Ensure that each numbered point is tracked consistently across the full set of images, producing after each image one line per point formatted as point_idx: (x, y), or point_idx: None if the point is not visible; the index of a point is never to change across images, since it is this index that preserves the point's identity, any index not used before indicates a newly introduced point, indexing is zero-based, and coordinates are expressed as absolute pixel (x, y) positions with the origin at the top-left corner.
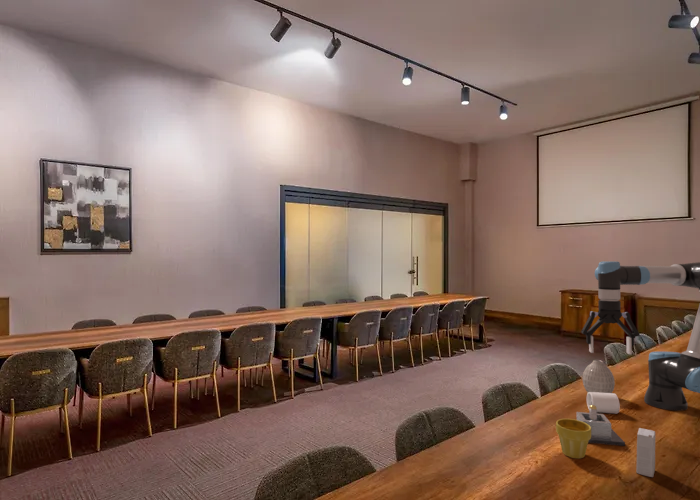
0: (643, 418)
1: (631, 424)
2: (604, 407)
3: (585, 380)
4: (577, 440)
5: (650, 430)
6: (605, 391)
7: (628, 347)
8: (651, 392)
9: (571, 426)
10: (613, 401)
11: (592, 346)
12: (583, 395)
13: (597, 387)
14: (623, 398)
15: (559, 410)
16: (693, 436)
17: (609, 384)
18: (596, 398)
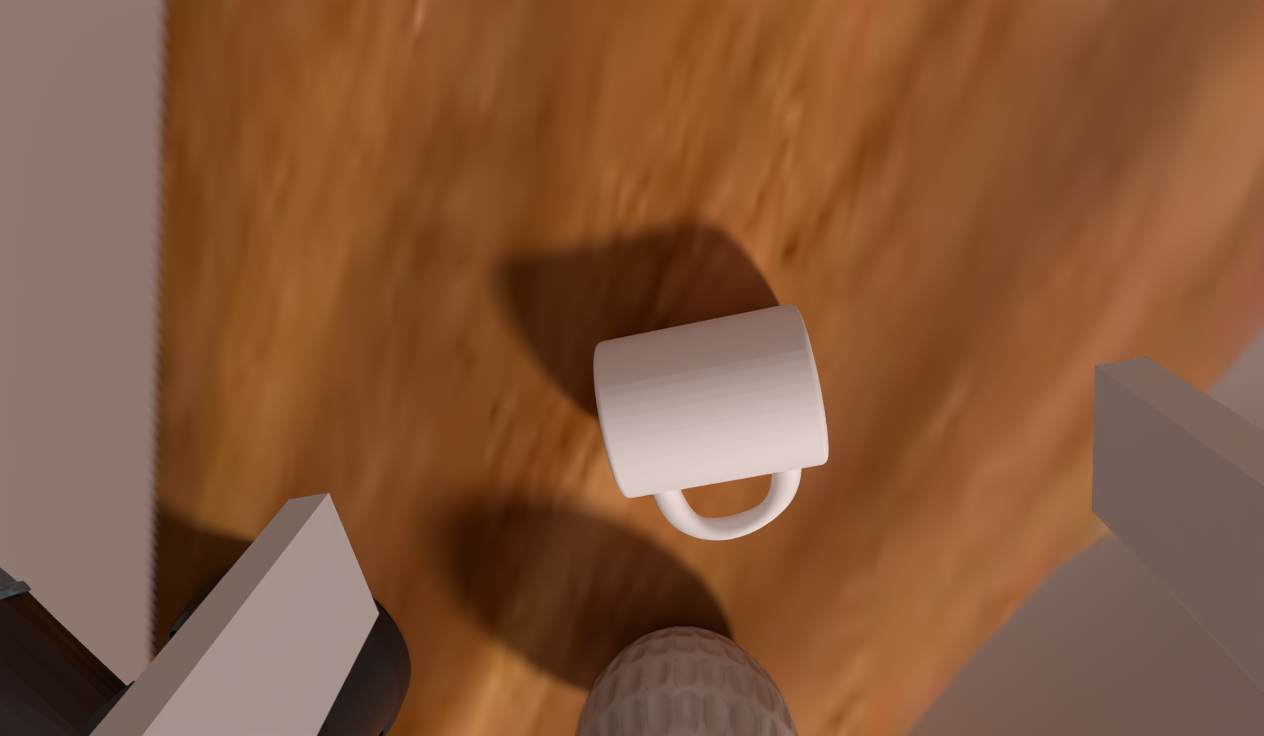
0: (449, 343)
1: (544, 175)
2: (708, 321)
3: (791, 728)
4: None
5: None
6: (649, 644)
7: (276, 633)
8: (342, 685)
9: None
10: (638, 362)
11: (1231, 440)
12: (778, 661)
13: (707, 658)
14: (529, 685)
15: (1033, 279)
16: (166, 96)
17: (617, 694)
18: (775, 350)
